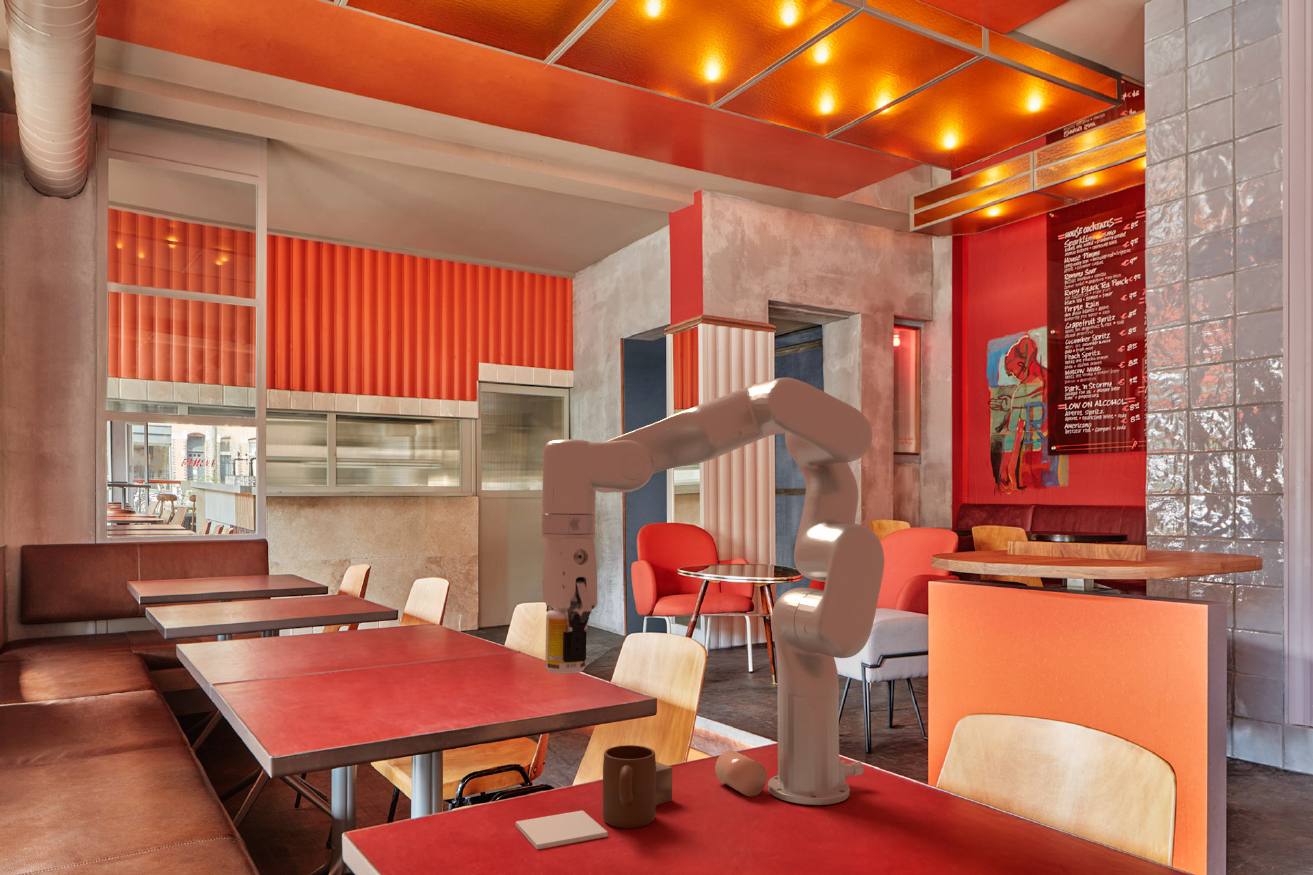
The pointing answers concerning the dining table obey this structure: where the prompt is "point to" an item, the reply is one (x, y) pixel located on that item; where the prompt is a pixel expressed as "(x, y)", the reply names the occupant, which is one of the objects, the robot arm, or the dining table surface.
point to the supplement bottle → (558, 644)
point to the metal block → (663, 783)
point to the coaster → (560, 829)
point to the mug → (629, 786)
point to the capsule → (741, 773)
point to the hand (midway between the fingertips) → (565, 656)
